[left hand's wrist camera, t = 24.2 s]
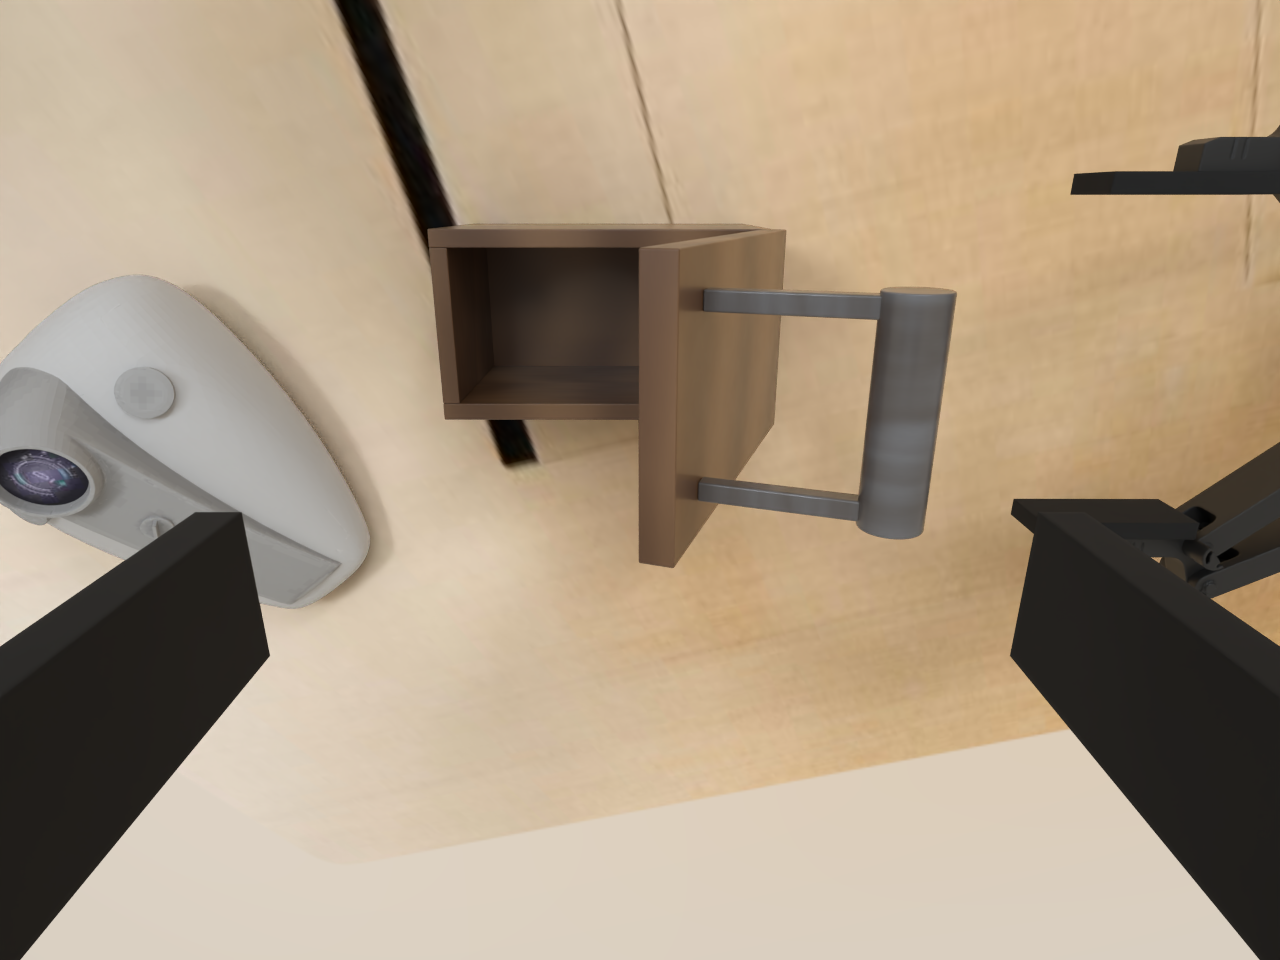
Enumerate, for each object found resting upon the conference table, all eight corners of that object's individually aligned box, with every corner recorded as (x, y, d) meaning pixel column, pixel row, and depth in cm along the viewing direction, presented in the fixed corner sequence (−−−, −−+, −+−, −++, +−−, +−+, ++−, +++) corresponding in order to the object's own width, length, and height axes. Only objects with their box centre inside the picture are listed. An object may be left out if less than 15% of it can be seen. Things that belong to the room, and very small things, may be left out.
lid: (638, 563, 24) (917, 607, 22) (637, 247, 21) (968, 253, 18) (751, 422, 40) (921, 437, 38) (761, 229, 37) (948, 231, 34)
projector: (81, 578, 56) (-100, 699, 42) (13, 259, 48) (-238, 280, 34) (380, 594, 56) (297, 719, 43) (360, 280, 49) (250, 310, 35)
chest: (484, 376, 51) (444, 419, 41) (473, 223, 48) (427, 228, 37) (736, 376, 51) (760, 419, 41) (743, 223, 48) (771, 229, 37)
